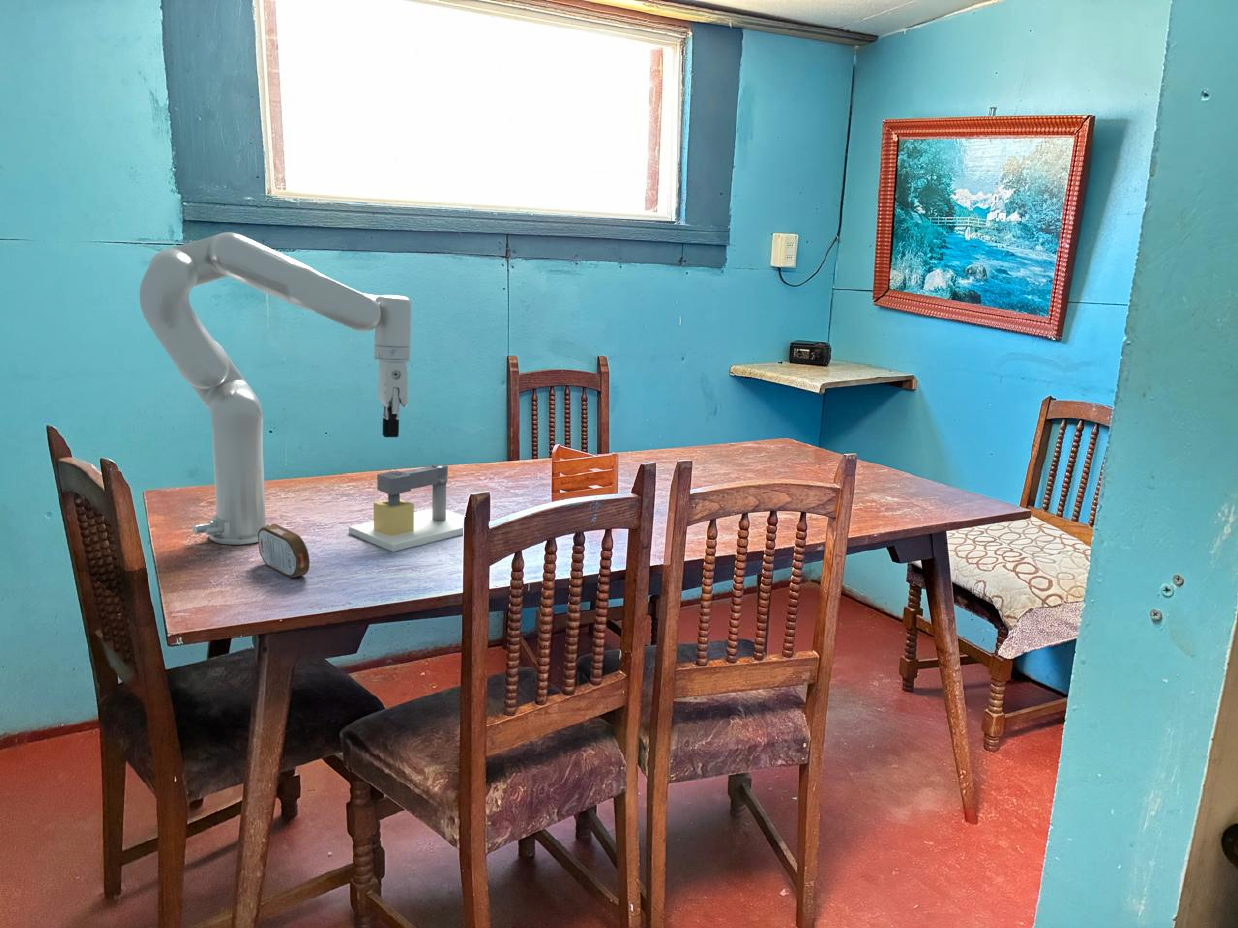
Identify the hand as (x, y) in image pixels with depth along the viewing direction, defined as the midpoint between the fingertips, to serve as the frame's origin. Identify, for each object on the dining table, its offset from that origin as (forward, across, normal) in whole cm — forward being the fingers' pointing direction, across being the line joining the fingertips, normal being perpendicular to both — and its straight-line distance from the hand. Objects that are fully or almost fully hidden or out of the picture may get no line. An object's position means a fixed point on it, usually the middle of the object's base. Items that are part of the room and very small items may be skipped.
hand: (390, 436), depth 206 cm
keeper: (+10, -7, -4) cm, 13 cm away
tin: (+21, -25, +24) cm, 41 cm away
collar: (+18, -10, +1) cm, 21 cm away
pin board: (+20, -7, -5) cm, 22 cm away
